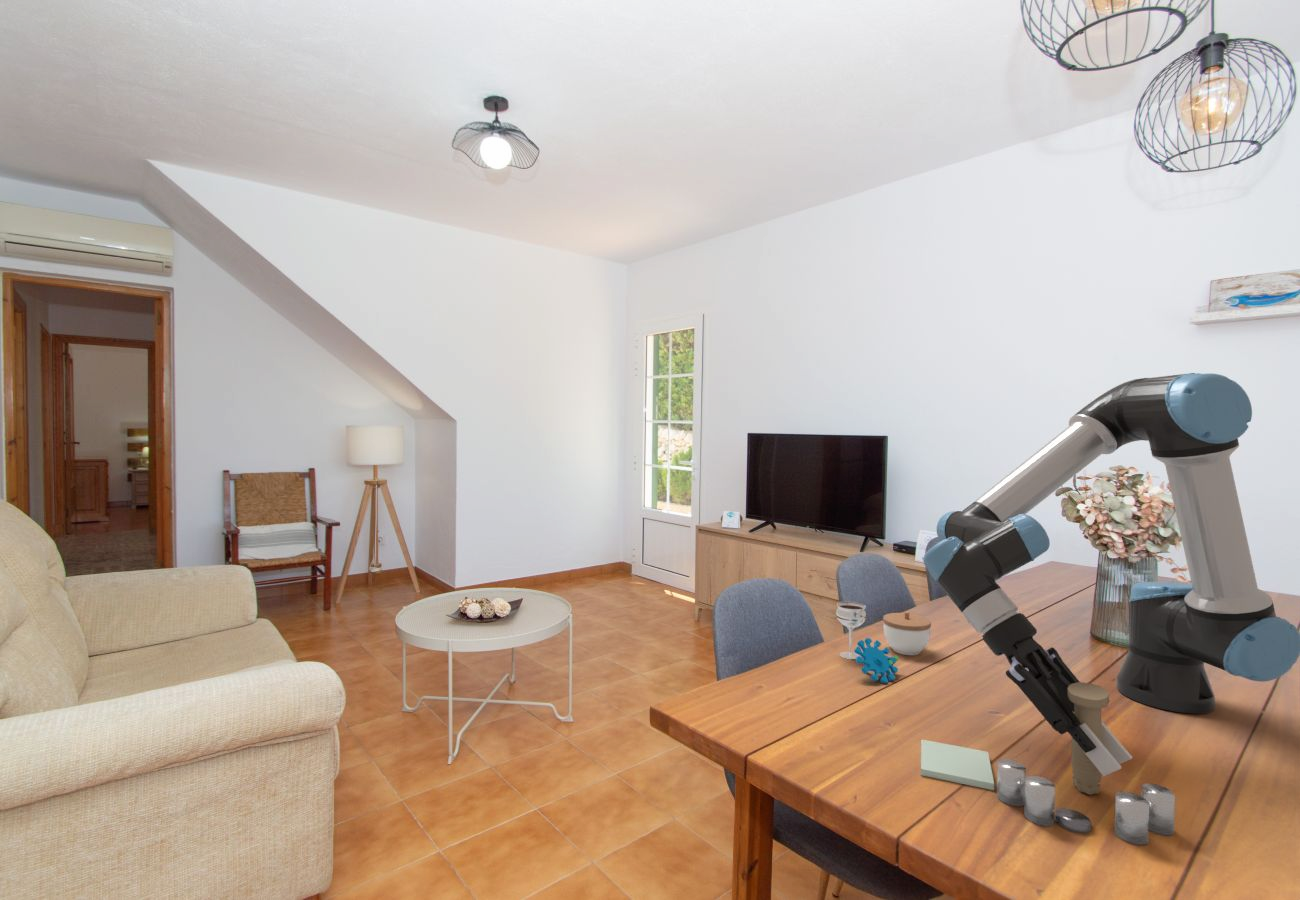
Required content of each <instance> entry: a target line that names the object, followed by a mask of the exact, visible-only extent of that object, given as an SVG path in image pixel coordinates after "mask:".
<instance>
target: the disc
mask: <svg viewBox="0 0 1300 900" xmlns="http://www.w3.org/2000/svg"><path fill="white" fill-rule="evenodd" d="M1091 821H1092V820H1091V819H1090V818H1089V817H1088V816H1087V815H1085V814H1084V813H1082V812H1079V811H1077V810H1074V809H1071V808H1065V807H1063V808H1057V809H1055V810H1054V822H1056V824H1057V825H1059V827H1060V828H1063V829H1065V830H1066V831H1068V832H1071V833H1076V834H1083V835H1084V834H1085V835H1086V834H1089V833H1090V832H1091V830H1092V828H1091V826H1092V822H1091Z"/></svg>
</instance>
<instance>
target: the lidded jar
mask: <svg viewBox="0 0 1300 900" xmlns="http://www.w3.org/2000/svg"><path fill="white" fill-rule="evenodd" d="M882 621H883V633H884V639H885V640H886V642H887V644H888V645H889V647H891V648H892V650H893V652H895V653H897V654H900V655H904V656H918V655H919V654H920V653H921V652H922V651H923V650H925V648H926V647H927V645H928V643H930V642H929V641H930V638H931V637H930V636H931V627H932V621H931V620H930V619H928V618H927V617H924V616H922V615H918V614H914V613H910V612H909V611H904V612H890V613H886V614H884V615H883V617H882Z"/></svg>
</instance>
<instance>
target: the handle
mask: <svg viewBox="0 0 1300 900" xmlns="http://www.w3.org/2000/svg"><path fill="white" fill-rule="evenodd" d="M1067 695H1068V698H1069V700H1070V701H1071V702H1073V703H1074V712H1073V713H1074V714H1075V716H1076V717H1077V718H1078V720H1079V721H1080V724H1083V723H1086V725H1087V726H1088V727H1089V728H1090V729H1091V731H1092V732H1093V733H1094V734H1095V735H1096V737H1097V738H1098V739H1099V740H1100V741H1101V743H1102V744H1103V741H1102V722H1103V721H1101V720H1102V709H1104V708H1107V707H1108V706H1109V703H1110V702H1109V701H1110V693H1109V691H1108V690H1107V689H1106V688H1105V687H1103V686H1101V685H1097V684H1094V683H1088V682H1082V681H1079V682H1077V683H1073V684H1070V685H1069V686H1068V690H1067ZM1070 750H1071V758H1070V759H1071V770H1072V781H1073V785H1074V787H1076V789H1077V791H1079V792H1080V793H1084V794H1087V795H1088V796H1089V795H1090V796H1092V795H1094V794H1100V791H1101V787H1102V785H1101V784H1100V783H1101V782H1102V777H1103V775H1102V774H1101V773H1100V771H1099V770H1098V769H1097V768H1096V766H1095V765H1094V764H1093V763H1092V761H1091V760H1090V759H1089V758H1088V756H1087V755H1086V754H1085V753H1084V751H1083V750H1082V749H1081V748H1080V746H1079V745H1078V744H1077V743H1076V741H1075V740H1074V739H1073V738H1072V737H1071V749H1070Z"/></svg>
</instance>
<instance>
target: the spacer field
mask: <svg viewBox="0 0 1300 900" xmlns="http://www.w3.org/2000/svg"><path fill="white" fill-rule="evenodd" d="M1026 772H1027V769H1026V766H1025V765H1024V764H1023V763H1020V761H1017V760H1013V759H1008V758H1001V759H999V760H998V761H997V782H996V783H997V785H996V787H997V788H996V796H997V799H998V800H999V801H1001V803H1003V804H1006V805H1008V806H1010V807H1011V806H1012V807H1023V806H1024V808H1023V810H1024V811H1023V815H1024V817H1025V819H1027V820H1028V821H1029V822H1030V823H1033V824H1035V825H1038V826H1041V827H1052V826H1054V824H1055V810H1056V809H1055V806H1056V805H1055V802H1056V800H1055V799H1056V798H1055V797H1056V785H1055V784H1054V783H1053V782H1052V781H1051V780H1049V779H1047V778H1045V777H1042V776H1038V775H1027V776H1026V774H1027V773H1026ZM1140 792H1141V795H1139V794H1135V793H1132V792H1128V791H1118V792H1116V793H1115V801H1114V802H1115V806H1114V807H1115V808H1114V810H1115V813H1114V834H1115V835H1116V836H1117V837H1118V838H1119V839H1121V840H1122V841H1124V842H1126V843H1129V844H1132V845H1136V846H1146V845H1147V844H1148V843H1149V831H1150V832H1152V833H1155V834H1157V835H1159V836H1160V835H1161V836H1172V835H1174V833H1175V812H1176V811H1175V809H1176V808H1175V807H1176V794H1175V793H1174V792H1173V791H1172V790H1171V789H1168V788H1166V787H1164V786H1162V785H1158V784H1157V783H1156V784H1154V783H1143V784H1142V785H1141V791H1140Z"/></svg>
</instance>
